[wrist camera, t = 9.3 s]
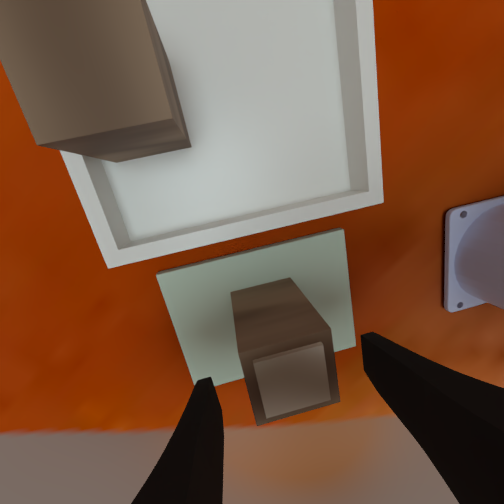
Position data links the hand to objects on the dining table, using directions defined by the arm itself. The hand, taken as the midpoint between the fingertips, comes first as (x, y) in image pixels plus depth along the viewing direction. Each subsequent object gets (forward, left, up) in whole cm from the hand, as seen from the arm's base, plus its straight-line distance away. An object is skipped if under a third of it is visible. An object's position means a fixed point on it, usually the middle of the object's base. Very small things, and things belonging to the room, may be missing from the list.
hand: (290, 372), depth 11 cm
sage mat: (0, 0, -6) cm, 6 cm away
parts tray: (0, -13, -6) cm, 14 cm away
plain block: (+4, -13, -5) cm, 15 cm away
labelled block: (0, 0, -5) cm, 5 cm away
